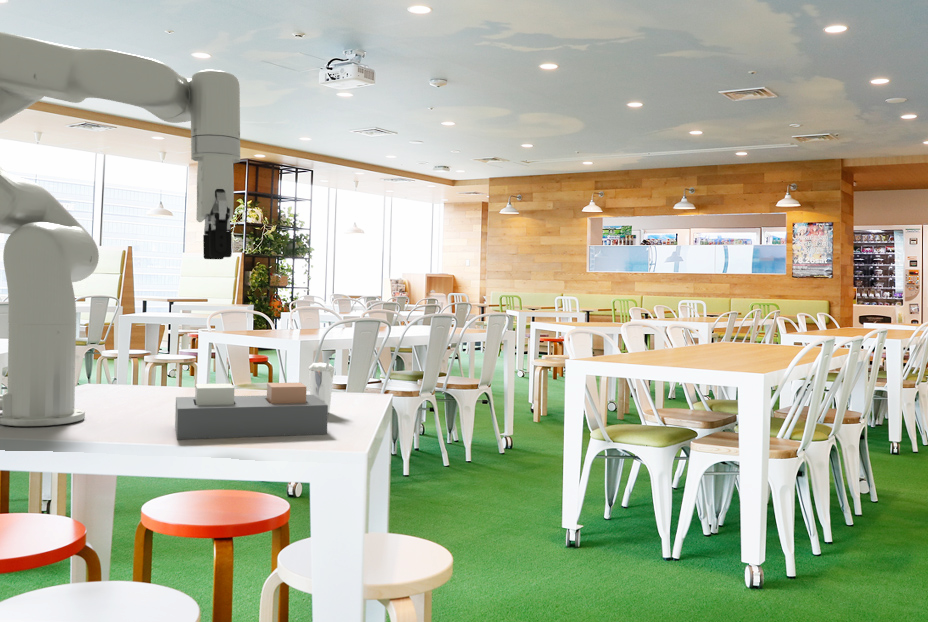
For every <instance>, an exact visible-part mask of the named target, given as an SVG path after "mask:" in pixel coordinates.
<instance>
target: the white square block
mask: <svg viewBox="0 0 928 622" xmlns="http://www.w3.org/2000/svg"><path fill="white" fill-rule="evenodd" d="M234 396H235V387H234V385H233V384H232V383H196V384H195V396H194V397H195V405H229V404H234Z"/></svg>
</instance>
